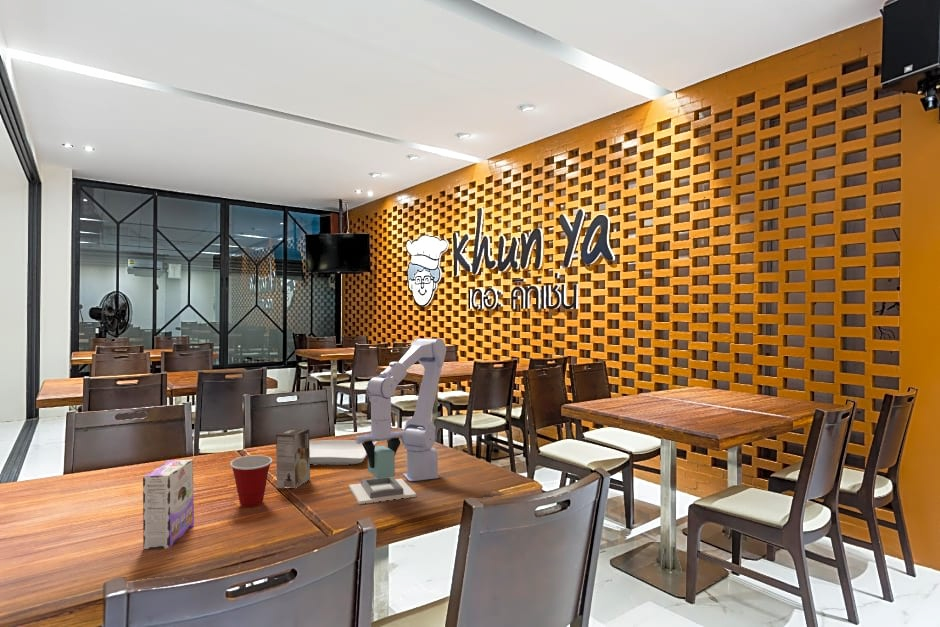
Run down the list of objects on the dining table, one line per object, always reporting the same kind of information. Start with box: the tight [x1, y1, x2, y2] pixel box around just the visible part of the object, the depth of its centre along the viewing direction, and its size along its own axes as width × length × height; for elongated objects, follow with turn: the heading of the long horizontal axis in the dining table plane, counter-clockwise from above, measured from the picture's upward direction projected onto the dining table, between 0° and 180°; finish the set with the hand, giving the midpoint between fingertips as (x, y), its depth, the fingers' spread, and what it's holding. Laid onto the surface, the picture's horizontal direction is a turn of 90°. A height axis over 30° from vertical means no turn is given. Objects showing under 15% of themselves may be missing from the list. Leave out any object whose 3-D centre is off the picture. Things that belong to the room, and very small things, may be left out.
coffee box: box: [275, 428, 311, 489], centre depth 171 cm, size 9×6×16 cm
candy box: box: [142, 458, 195, 550], centre depth 131 cm, size 14×6×16 cm, turn 5°
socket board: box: [348, 476, 417, 505], centre depth 163 cm, size 16×16×2 cm
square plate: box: [309, 439, 378, 466], centre depth 203 cm, size 27×27×4 cm
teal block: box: [367, 445, 396, 479], centre depth 163 cm, size 9×5×7 cm, turn 28°
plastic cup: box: [229, 454, 273, 508], centre depth 154 cm, size 11×11×12 cm
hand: (381, 465), depth 163 cm, fingers closed on teal block, 5 cm apart
